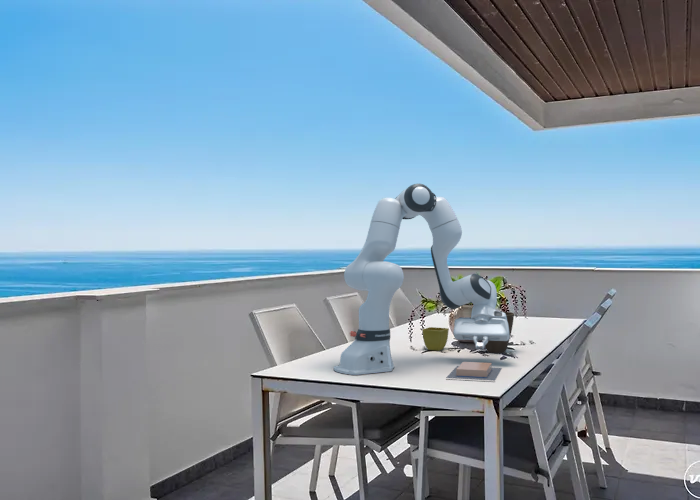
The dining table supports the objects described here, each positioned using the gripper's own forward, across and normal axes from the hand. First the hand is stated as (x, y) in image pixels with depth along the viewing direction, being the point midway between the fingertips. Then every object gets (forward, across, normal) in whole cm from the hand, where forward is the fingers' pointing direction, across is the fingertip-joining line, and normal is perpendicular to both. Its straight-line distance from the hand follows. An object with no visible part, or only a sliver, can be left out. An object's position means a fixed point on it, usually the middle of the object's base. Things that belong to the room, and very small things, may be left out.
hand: (479, 348), depth 234 cm
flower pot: (-20, -24, +31) cm, 44 cm away
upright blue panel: (+8, 0, 0) cm, 8 cm away
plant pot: (-21, +1, +32) cm, 38 cm away
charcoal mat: (+14, 0, -3) cm, 14 cm away
